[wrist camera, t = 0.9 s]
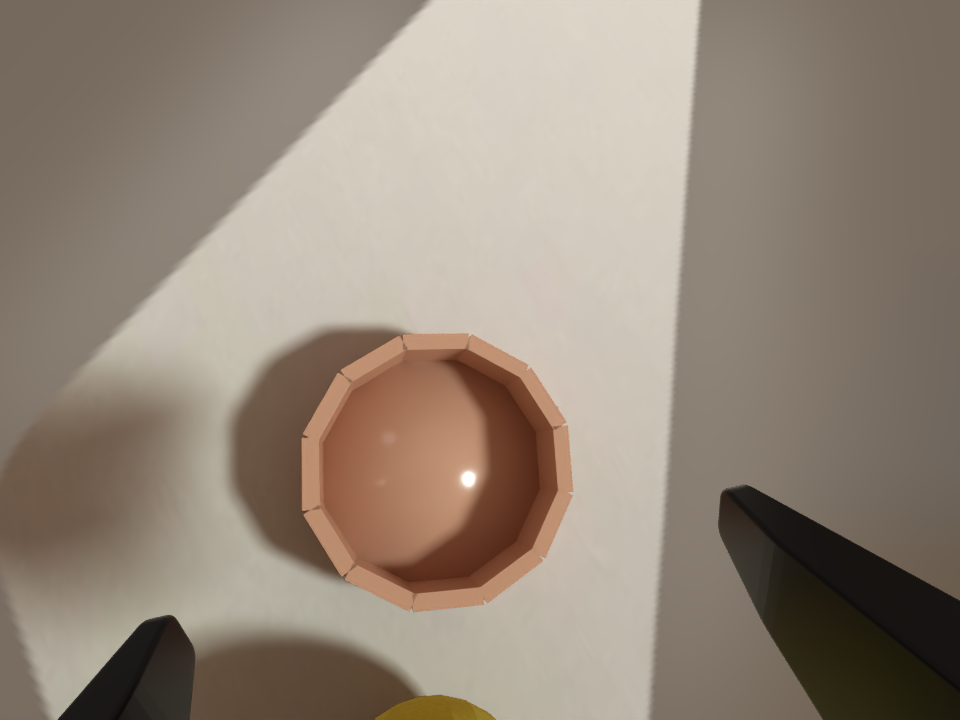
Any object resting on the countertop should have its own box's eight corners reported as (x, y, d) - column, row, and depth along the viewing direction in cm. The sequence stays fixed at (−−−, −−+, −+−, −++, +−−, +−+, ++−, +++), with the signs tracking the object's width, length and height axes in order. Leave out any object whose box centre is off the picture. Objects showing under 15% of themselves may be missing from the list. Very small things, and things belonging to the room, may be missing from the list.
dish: (556, 580, 21) (581, 594, 19) (309, 605, 19) (302, 624, 17) (538, 347, 23) (559, 332, 20) (307, 351, 21) (300, 335, 18)
